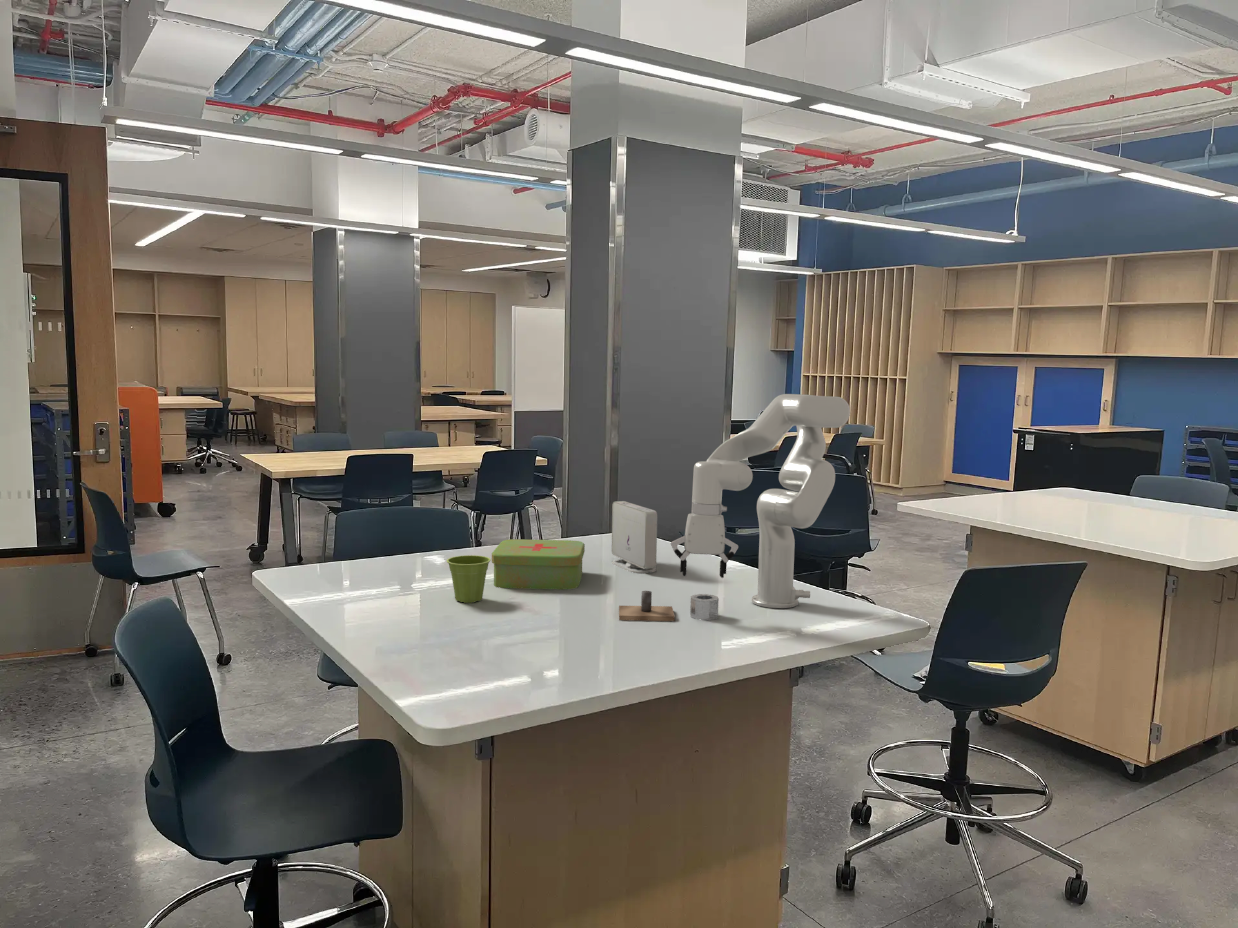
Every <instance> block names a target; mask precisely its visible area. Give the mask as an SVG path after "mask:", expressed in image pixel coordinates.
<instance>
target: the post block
mask: <svg viewBox="0 0 1238 928" xmlns="http://www.w3.org/2000/svg"><path fill="white" fill-rule="evenodd" d="M652 592H653V591H651V590H642V591H641V602H640V603H641V605H619V606H618V621H644V622H645V621H646V622H647V621H648V622H649V621H650V622H657V621H658V622H675V617H676V616H675V613H674V608H673V606H671V605H670V606H667V605H666V606H665V605H664V606H663V605H662V606H661V605H660V606H658V605H652V601H653V600H652V597H653V595H652V594H653V593H652Z"/></svg>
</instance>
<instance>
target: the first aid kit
mask: <svg viewBox="0 0 1238 928" xmlns="http://www.w3.org/2000/svg"><path fill="white" fill-rule="evenodd" d="M585 545H586V544H585V543H584V542H583V541H579V540H569V539H567V540H566V539H565V540H563V539H519V538H517V539H515V538H514V539H511V538H510V539H504V540H502V541H500V542H499V544H498V545H497V546H496V548H495V549H494V550H493V551H492V552H491V563H492V564H493V586H494V587H496V588H499V587H500V588H501V589H527V590H528V589H531V590H532V589H533V590H535V589H537V590H574V589H578V587H579V586H580V583H581V579H582V576H583V558H584V555H585V551H586V550H585Z"/></svg>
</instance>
